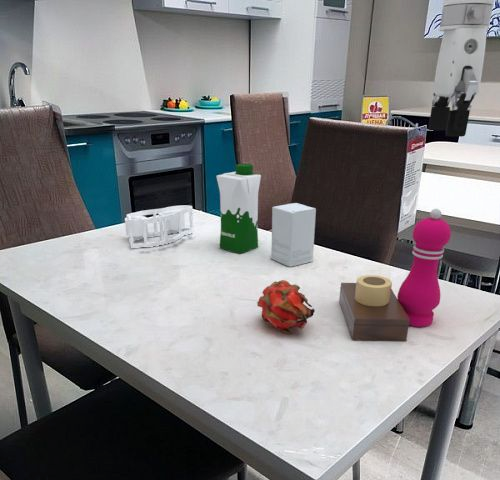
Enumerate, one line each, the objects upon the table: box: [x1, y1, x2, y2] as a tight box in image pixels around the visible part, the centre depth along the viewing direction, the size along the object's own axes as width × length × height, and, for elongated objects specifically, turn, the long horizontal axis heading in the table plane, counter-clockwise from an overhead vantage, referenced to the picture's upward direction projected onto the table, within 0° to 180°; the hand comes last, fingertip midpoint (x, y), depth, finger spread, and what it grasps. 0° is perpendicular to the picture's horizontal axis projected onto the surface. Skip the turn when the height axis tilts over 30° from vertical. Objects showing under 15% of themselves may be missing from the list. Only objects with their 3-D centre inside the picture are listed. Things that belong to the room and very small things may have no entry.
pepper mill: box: [396, 208, 452, 328], centre depth 87 cm, size 7×7×20 cm
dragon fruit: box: [256, 279, 316, 334], centre depth 87 cm, size 8×8×12 cm
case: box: [338, 282, 410, 342], centre depth 90 cm, size 9×16×4 cm, turn 179°
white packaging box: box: [270, 202, 317, 268], centre depth 117 cm, size 7×7×13 cm
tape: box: [355, 274, 393, 306], centre depth 89 cm, size 6×6×4 cm
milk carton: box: [215, 163, 262, 255], centre depth 123 cm, size 9×9×20 cm
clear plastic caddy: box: [124, 204, 194, 249], centre depth 133 cm, size 20×11×7 cm, turn 126°
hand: (445, 133), depth 90 cm, fingers open, 9 cm apart
